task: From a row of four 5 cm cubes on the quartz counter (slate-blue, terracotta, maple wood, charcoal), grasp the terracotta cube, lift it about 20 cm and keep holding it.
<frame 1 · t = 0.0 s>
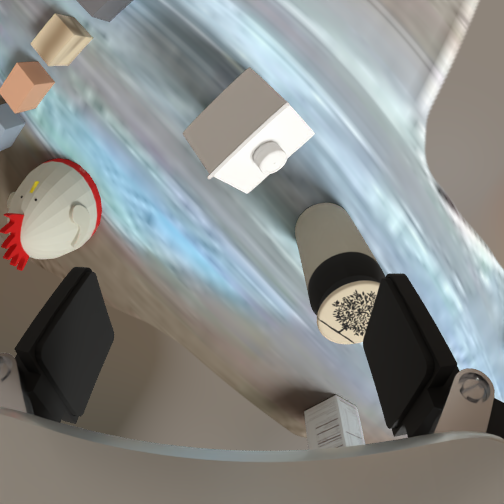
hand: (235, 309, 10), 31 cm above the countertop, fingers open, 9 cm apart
terracotta block: (36, 84, 32), on the countertop
travel mug: (323, 228, 43), on the countertop
maple block: (71, 41, 30), on the countertop
kitchen timer: (63, 202, 41), on the countertop
supplement box: (330, 408, 66), on the countertop
milk carton: (251, 114, 36), on the countertop
slate block: (10, 124, 35), on the countertop
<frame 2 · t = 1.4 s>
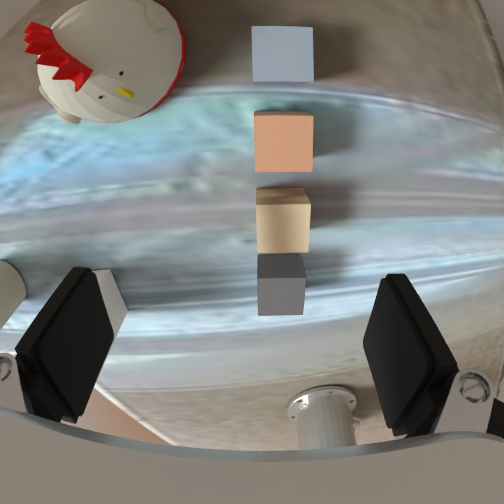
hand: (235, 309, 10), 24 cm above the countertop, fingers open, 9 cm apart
terracotta block: (280, 135, 30), on the countertop
charcoal block: (278, 272, 38), on the countertop
travel mug: (10, 279, 40), on the countertop
maple block: (280, 209, 34), on the countertop
kitchen timer: (122, 58, 26), on the countertop
milk carton: (99, 291, 41), on the countertop
slate block: (279, 58, 27), on the countertop
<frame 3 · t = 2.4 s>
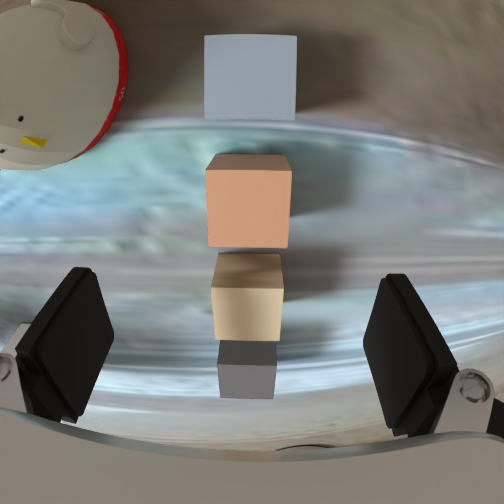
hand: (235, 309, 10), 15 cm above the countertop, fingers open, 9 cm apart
terracotta block: (250, 186, 24), on the countertop
charcoal block: (248, 344, 31), on the countertop
maple block: (248, 278, 27), on the countertop
kitchen timer: (55, 82, 19), on the countertop
milk carton: (53, 343, 33), on the countertop
slate block: (251, 79, 20), on the countertop
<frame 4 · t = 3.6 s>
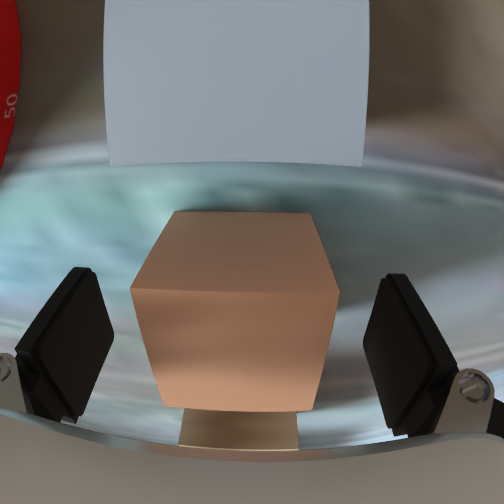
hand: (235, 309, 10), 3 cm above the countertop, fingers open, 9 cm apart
terracotta block: (242, 269, 13), on the countertop
maple block: (242, 390, 17), on the countertop
slate block: (243, 58, 9), on the countertop
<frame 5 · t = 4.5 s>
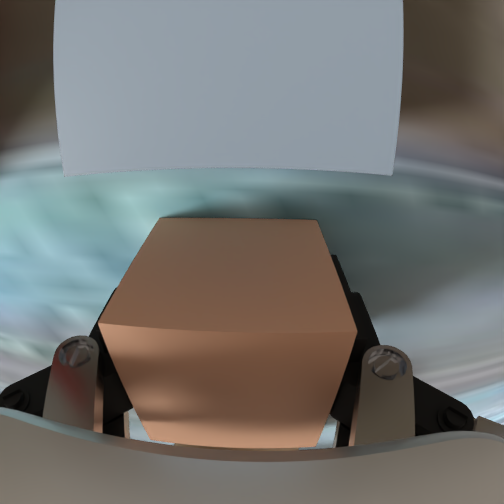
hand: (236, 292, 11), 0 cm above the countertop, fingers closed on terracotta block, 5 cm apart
terracotta block: (237, 283, 11), on the countertop, touching gripper
maple block: (240, 407, 15), on the countertop
slate block: (238, 40, 7), on the countertop
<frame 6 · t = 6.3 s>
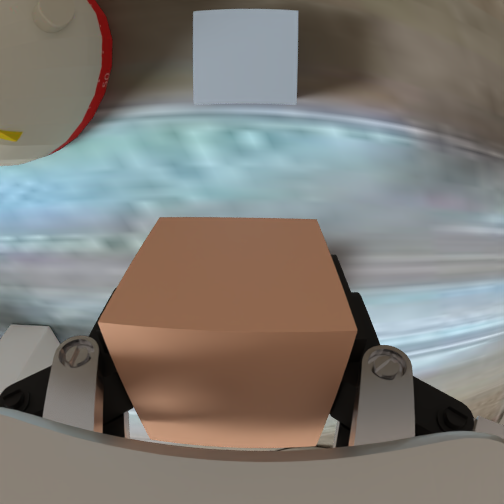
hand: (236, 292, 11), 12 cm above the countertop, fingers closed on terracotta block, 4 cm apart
terracotta block: (237, 283, 11), point 12 cm above the countertop, touching gripper
kitchen timer: (37, 70, 17), on the countertop
milk carton: (43, 344, 31), on the countertop
slate block: (247, 61, 17), on the countertop
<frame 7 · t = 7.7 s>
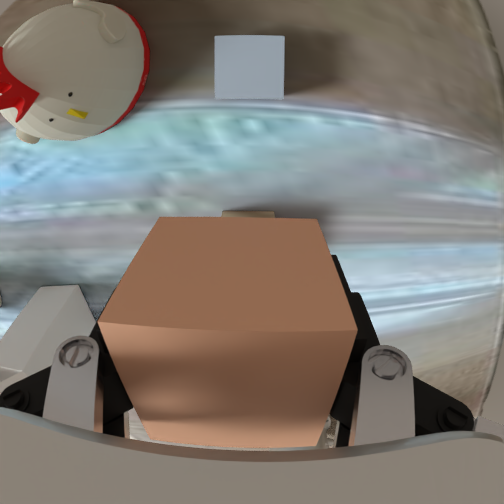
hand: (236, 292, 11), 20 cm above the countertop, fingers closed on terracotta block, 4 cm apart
terracotta block: (237, 283, 11), point 20 cm above the countertop, touching gripper
maple block: (248, 233, 33), on the countertop
kitchen timer: (85, 69, 24), on the countertop
milk carton: (69, 304, 38), on the countertop
slate block: (250, 69, 24), on the countertop
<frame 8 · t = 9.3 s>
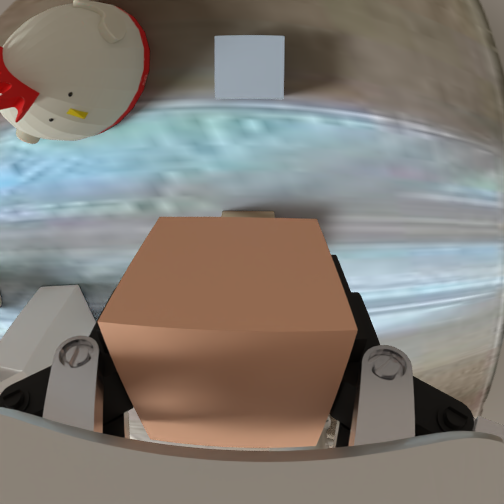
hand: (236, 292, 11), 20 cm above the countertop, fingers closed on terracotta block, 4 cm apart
terracotta block: (237, 283, 11), point 20 cm above the countertop, touching gripper
maple block: (248, 233, 33), on the countertop
kitchen timer: (85, 69, 24), on the countertop
milk carton: (69, 304, 38), on the countertop
slate block: (250, 69, 24), on the countertop
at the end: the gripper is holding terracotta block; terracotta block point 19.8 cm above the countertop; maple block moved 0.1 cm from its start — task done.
